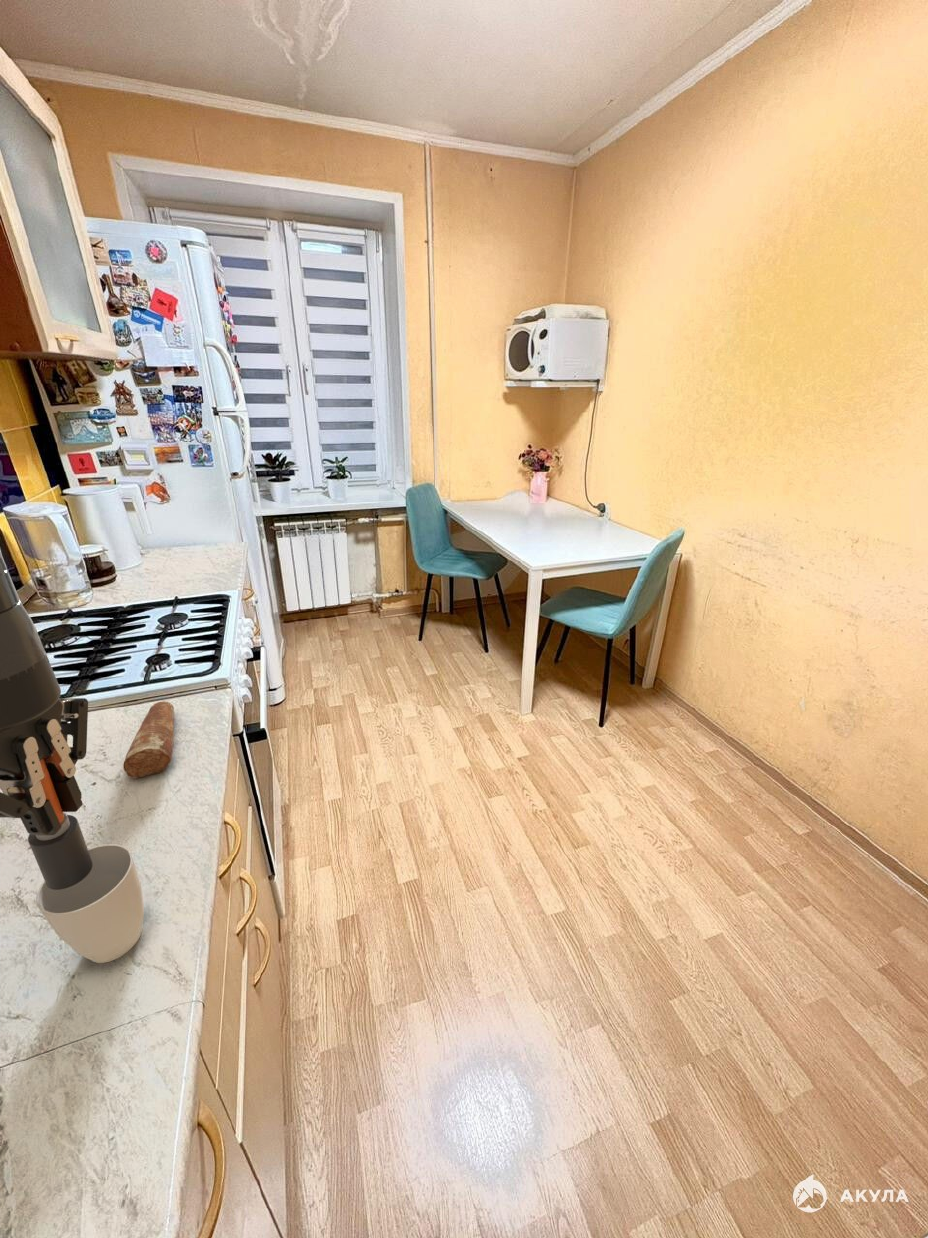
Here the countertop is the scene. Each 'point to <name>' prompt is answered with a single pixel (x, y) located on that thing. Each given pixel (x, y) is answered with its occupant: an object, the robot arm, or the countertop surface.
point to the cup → (98, 906)
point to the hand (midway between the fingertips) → (59, 820)
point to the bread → (152, 742)
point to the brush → (60, 846)
